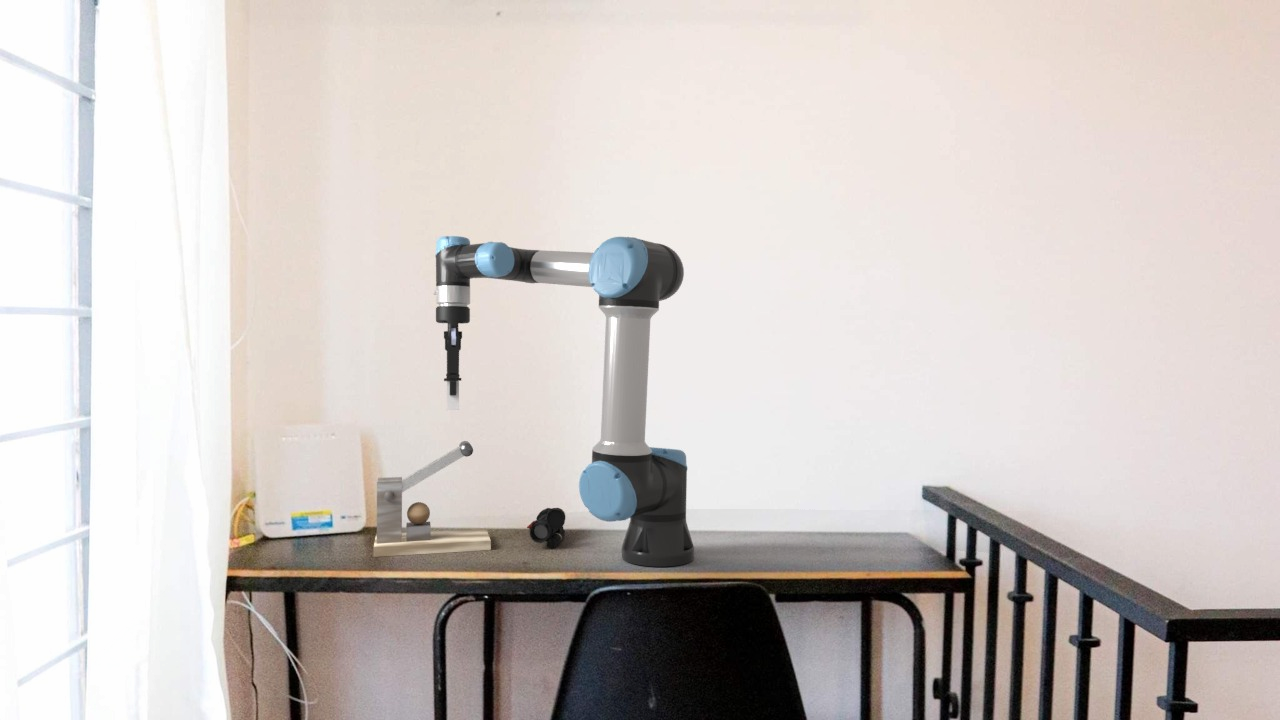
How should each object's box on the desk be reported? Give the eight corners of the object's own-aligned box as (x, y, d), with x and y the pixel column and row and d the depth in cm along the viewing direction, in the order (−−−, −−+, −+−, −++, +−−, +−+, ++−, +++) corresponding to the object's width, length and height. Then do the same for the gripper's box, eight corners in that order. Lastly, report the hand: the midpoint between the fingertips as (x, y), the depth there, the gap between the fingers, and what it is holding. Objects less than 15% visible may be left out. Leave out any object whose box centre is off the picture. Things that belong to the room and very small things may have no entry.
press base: (490, 549, 173) (491, 480, 172) (373, 556, 166) (373, 484, 166) (485, 537, 184) (486, 472, 184) (375, 543, 178) (376, 475, 177)
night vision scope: (555, 542, 190) (587, 516, 189) (535, 563, 172) (570, 535, 171) (534, 516, 190) (566, 490, 189) (512, 534, 173) (547, 506, 172)
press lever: (475, 452, 174) (469, 442, 174) (388, 504, 169) (381, 493, 169) (472, 448, 181) (467, 438, 180) (389, 498, 176) (382, 488, 175)
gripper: (435, 306, 187) (435, 408, 187) (436, 303, 174) (435, 412, 175) (468, 307, 189) (468, 407, 189) (471, 304, 176) (471, 411, 177)
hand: (452, 409), depth 182 cm, fingers closed
